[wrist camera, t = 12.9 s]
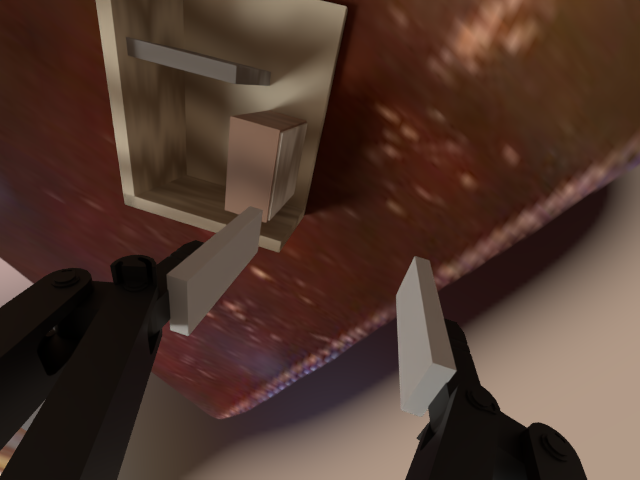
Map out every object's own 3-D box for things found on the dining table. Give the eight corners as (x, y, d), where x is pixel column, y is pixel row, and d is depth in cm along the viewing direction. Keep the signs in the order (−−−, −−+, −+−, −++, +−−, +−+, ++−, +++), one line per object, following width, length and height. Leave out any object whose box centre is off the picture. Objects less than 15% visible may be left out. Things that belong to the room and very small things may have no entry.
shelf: (177, -31, 25) (83, -87, 17) (347, 9, 24) (328, -31, 16) (183, 179, 35) (124, 204, 27) (303, 215, 34) (279, 252, 26)
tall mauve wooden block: (269, 110, 28) (230, 116, 21) (308, 121, 28) (282, 130, 21) (259, 184, 32) (224, 209, 25) (294, 195, 32) (268, 223, 25)
